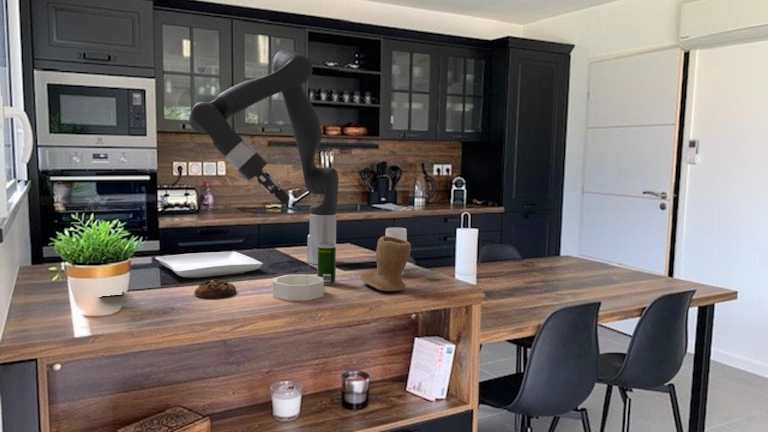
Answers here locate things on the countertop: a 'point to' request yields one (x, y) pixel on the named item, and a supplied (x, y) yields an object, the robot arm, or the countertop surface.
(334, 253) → the beer can
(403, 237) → the drinking glass
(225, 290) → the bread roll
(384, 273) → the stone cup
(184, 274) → the square plate
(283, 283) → the cream bowl
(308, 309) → the countertop surface
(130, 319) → the countertop surface
